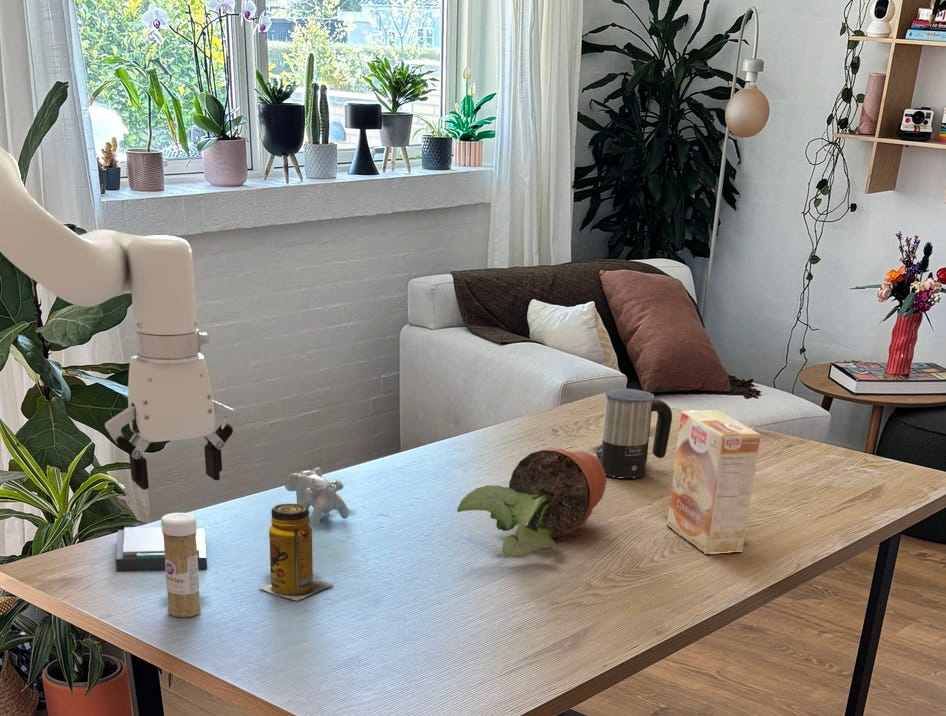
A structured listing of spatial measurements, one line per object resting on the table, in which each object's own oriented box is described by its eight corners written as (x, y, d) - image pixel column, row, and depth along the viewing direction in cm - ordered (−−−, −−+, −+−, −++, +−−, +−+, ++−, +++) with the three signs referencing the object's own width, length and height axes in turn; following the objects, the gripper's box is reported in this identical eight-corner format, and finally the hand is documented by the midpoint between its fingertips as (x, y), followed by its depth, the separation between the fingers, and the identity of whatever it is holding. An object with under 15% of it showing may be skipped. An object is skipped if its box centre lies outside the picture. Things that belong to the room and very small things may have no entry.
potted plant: (532, 518, 227) (439, 560, 198) (546, 430, 220) (453, 460, 191) (614, 541, 221) (532, 586, 192) (632, 451, 214) (549, 485, 185)
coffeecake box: (664, 526, 222) (679, 410, 212) (702, 523, 224) (718, 409, 214) (704, 556, 209) (722, 434, 200) (743, 553, 212) (763, 433, 202)
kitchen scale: (116, 571, 190) (115, 555, 189) (118, 541, 201) (117, 526, 200) (207, 569, 193) (206, 553, 192) (204, 539, 204) (203, 524, 202)
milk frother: (621, 482, 242) (630, 402, 235) (562, 462, 252) (569, 383, 245) (672, 471, 250) (682, 393, 243) (613, 452, 260) (621, 376, 253)
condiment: (258, 589, 187) (255, 508, 181) (297, 573, 193) (295, 494, 187) (296, 602, 183) (294, 519, 177) (335, 586, 190) (334, 505, 184)
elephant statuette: (326, 532, 209) (326, 486, 206) (264, 519, 214) (262, 473, 210) (356, 517, 217) (356, 472, 213) (295, 504, 221) (294, 459, 217)
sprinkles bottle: (161, 614, 177) (153, 518, 170) (180, 603, 181) (174, 509, 174) (189, 621, 176) (182, 524, 169) (208, 610, 179) (203, 515, 172)
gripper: (221, 335, 167) (229, 467, 176) (88, 344, 159) (103, 482, 168) (244, 346, 162) (251, 482, 170) (108, 356, 154) (122, 498, 162)
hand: (178, 482), depth 169 cm, fingers open, 9 cm apart
